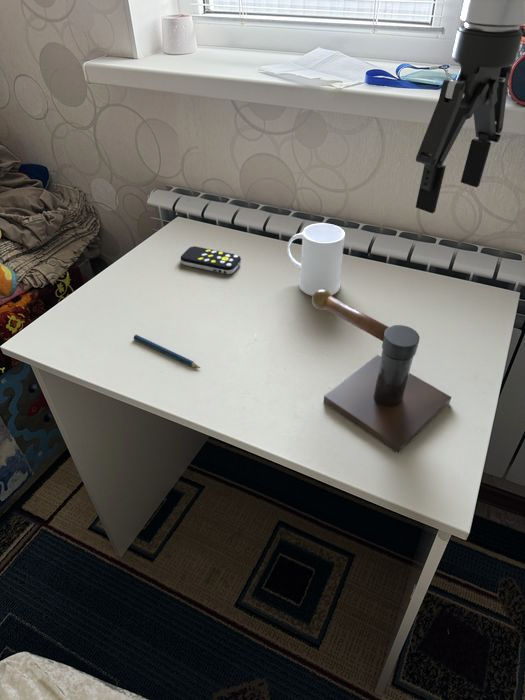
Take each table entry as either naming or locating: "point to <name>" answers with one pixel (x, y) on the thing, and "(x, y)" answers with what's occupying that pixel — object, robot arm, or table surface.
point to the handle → (372, 326)
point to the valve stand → (387, 401)
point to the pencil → (166, 351)
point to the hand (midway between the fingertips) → (448, 196)
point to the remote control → (211, 260)
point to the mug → (320, 257)
